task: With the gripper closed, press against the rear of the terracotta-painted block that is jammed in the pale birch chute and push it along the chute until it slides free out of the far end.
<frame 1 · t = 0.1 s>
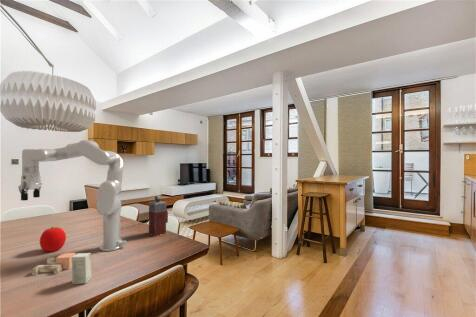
hand: (30, 198, 139), 31 cm above the table, fingers open, 9 cm apart
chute: (54, 267, 119), on the table
skincare box: (81, 282, 106), on the table
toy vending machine: (158, 233, 173), on the table
tomato: (52, 250, 141), on the table
block: (66, 261, 120), point 3 cm above the table, slide at 0.0 cm
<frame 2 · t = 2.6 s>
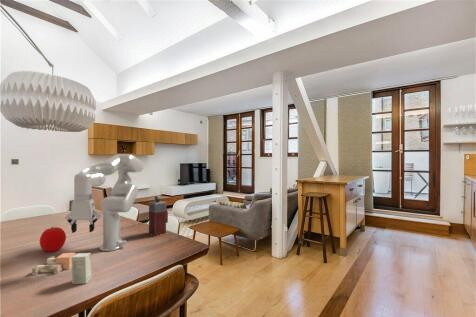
hand: (83, 231, 121), 18 cm above the table, fingers open, 7 cm apart
nothing on the table moved.
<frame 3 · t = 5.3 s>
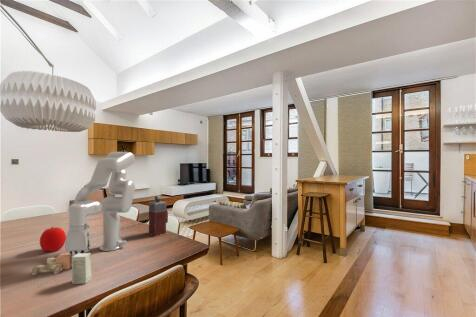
hand: (77, 263, 120), 2 cm above the table, fingers closed
block: (65, 261, 120), point 3 cm above the table, slide at 0.3 cm, touching gripper
everything else where it was.
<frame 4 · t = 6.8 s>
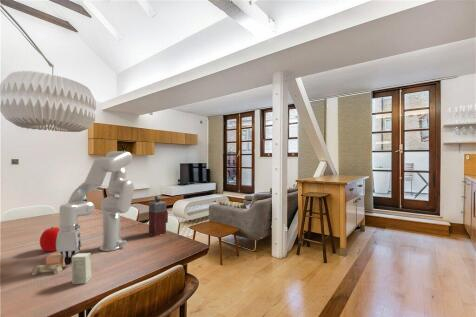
hand: (68, 263, 120), 2 cm above the table, fingers closed
block: (56, 261, 119), point 3 cm above the table, slide at 4.6 cm, touching gripper
everything else where it was.
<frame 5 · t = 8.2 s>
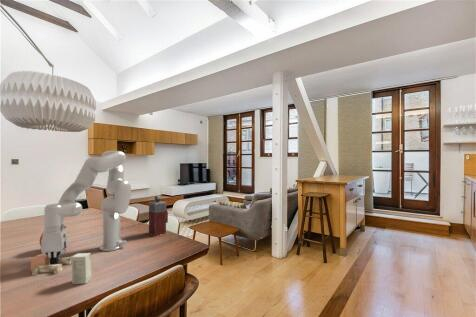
hand: (53, 264, 119), 2 cm above the table, fingers closed
block: (41, 262, 118), point 3 cm above the table, slide at 11.4 cm, touching gripper
everything else where it was.
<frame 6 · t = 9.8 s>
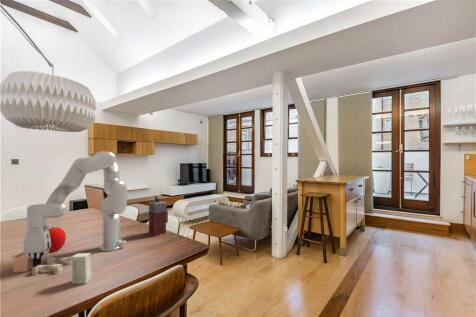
hand: (37, 265, 118), 2 cm above the table, fingers closed
block: (24, 263, 117), point 3 cm above the table, slide at 19.1 cm, touching gripper
everything else where it was.
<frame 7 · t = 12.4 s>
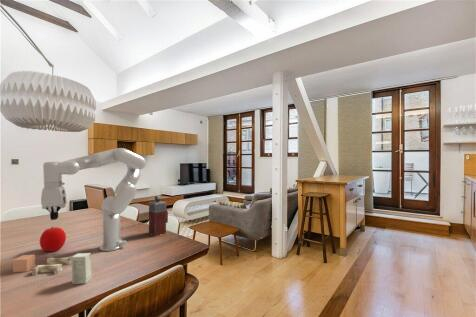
hand: (54, 219, 125), 23 cm above the table, fingers closed
block: (24, 263, 117), point 3 cm above the table, slide at 19.0 cm
everything else where it was.
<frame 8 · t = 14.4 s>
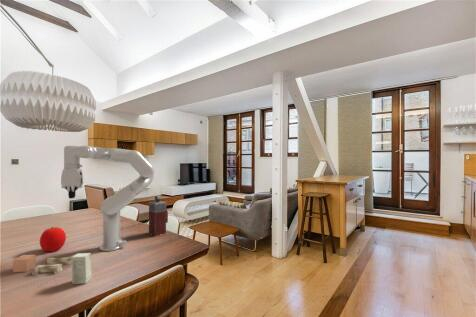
hand: (71, 198, 137), 32 cm above the table, fingers closed
nothing on the table moved.
at the end: block slide at 19.0 cm; the gripper is holding nothing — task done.
